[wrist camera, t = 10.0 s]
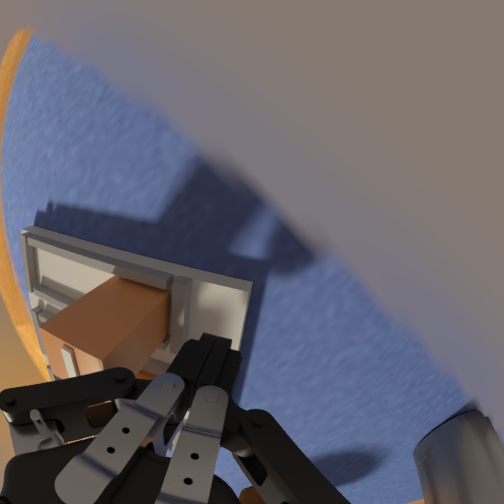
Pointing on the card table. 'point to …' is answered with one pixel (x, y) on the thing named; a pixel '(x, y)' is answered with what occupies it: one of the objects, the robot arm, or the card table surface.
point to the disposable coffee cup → (250, 497)
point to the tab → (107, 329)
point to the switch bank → (140, 270)
